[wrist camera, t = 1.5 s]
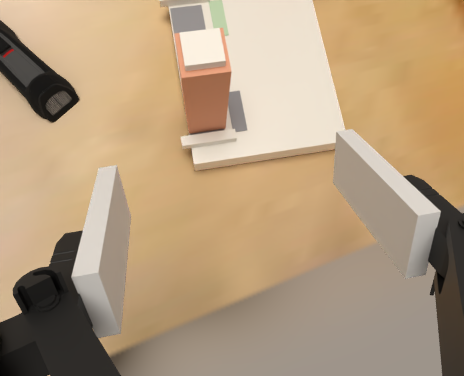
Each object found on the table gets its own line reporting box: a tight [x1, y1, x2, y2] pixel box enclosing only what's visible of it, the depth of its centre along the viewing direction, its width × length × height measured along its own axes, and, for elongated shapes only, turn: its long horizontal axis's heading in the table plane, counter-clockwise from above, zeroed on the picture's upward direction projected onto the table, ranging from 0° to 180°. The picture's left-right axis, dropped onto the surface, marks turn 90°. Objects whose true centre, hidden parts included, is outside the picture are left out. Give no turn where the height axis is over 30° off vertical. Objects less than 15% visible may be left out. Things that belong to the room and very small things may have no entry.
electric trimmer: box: [0, 21, 79, 122], centre depth 34 cm, size 4×16×3 cm, turn 46°
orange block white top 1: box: [174, 28, 232, 134], centre depth 28 cm, size 3×3×10 cm
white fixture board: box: [159, 0, 345, 171], centre depth 36 cm, size 14×30×3 cm, turn 10°
